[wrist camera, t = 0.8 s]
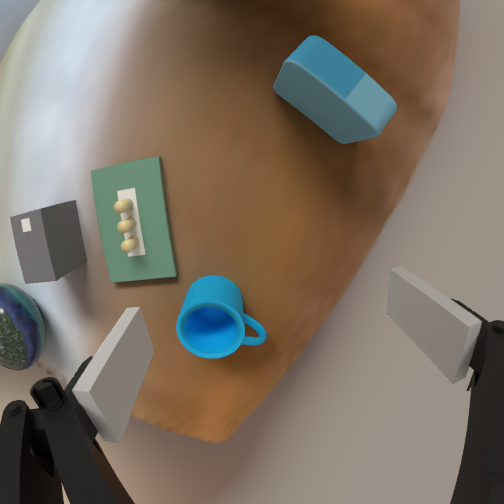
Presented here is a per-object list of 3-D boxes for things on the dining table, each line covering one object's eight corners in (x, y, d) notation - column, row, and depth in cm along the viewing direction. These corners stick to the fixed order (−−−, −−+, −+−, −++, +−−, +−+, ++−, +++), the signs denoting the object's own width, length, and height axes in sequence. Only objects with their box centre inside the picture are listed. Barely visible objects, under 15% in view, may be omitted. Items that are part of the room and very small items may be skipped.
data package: (358, 122, 35) (403, 108, 24) (340, 145, 36) (382, 137, 24) (290, 67, 33) (312, 29, 21) (270, 89, 34) (285, 56, 22)
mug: (178, 313, 41) (167, 343, 33) (199, 265, 39) (191, 288, 32) (251, 343, 43) (254, 376, 35) (276, 299, 41) (285, 328, 34)
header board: (94, 170, 35) (80, 171, 31) (160, 156, 35) (152, 155, 31) (114, 279, 39) (103, 290, 35) (177, 273, 39) (171, 284, 35)
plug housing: (46, 207, 35) (9, 217, 27) (75, 200, 36) (40, 208, 27) (57, 263, 38) (25, 283, 29) (86, 259, 38) (55, 281, 29)
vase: (57, 360, 43) (25, 403, 30) (2, 328, 40) (-34, 360, 28) (58, 293, 39) (12, 331, 26) (-2, 261, 37) (-49, 287, 24)
